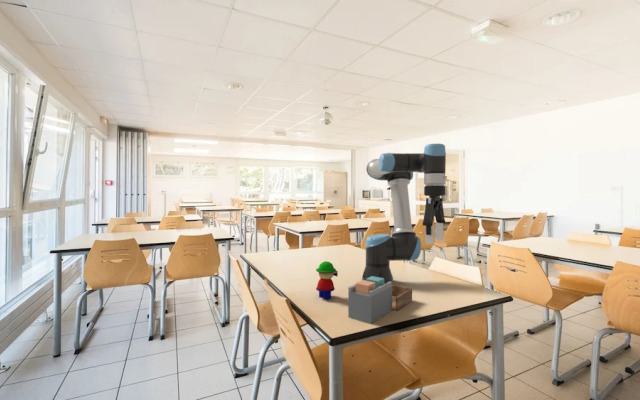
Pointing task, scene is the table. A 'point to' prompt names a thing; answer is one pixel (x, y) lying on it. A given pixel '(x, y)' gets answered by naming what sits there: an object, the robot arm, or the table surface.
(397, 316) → the table surface
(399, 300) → the crate
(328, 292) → the toy
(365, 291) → the salmon pink square block
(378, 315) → the grey stepped block
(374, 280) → the teal square block
